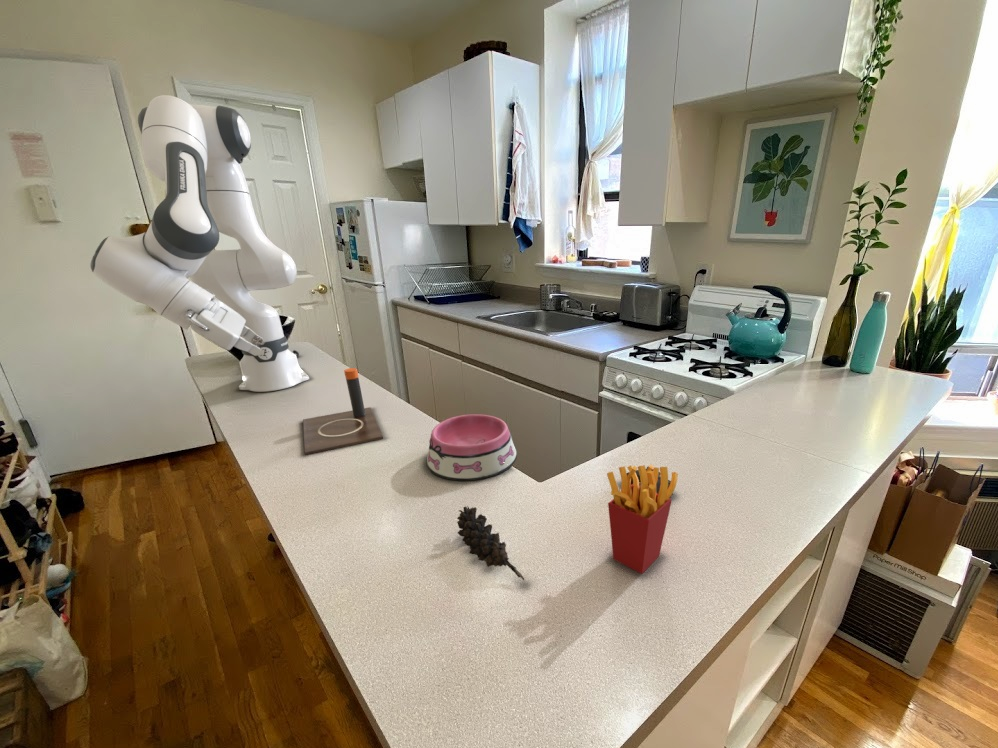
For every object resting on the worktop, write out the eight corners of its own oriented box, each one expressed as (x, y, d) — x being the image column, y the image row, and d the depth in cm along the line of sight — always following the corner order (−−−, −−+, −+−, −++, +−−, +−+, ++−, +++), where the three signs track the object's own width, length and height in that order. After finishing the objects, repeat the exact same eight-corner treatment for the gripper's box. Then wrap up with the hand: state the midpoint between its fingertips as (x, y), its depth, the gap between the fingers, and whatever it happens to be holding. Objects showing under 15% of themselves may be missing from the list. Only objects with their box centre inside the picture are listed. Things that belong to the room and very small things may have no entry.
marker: (352, 414, 118) (343, 369, 113) (364, 411, 119) (356, 367, 114) (354, 418, 115) (344, 372, 110) (366, 415, 116) (357, 370, 112)
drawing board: (303, 421, 115) (302, 418, 115) (370, 409, 122) (370, 406, 122) (305, 455, 99) (304, 451, 99) (383, 438, 106) (382, 435, 105)
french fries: (644, 581, 63) (651, 487, 57) (595, 555, 68) (597, 467, 62) (674, 548, 70) (684, 461, 64) (627, 526, 75) (632, 443, 69)
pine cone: (447, 533, 74) (444, 505, 72) (476, 521, 76) (473, 494, 74) (499, 601, 61) (496, 570, 58) (532, 584, 63) (530, 554, 61)
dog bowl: (534, 461, 95) (533, 431, 92) (451, 492, 85) (447, 459, 82) (489, 431, 108) (487, 404, 106) (413, 454, 98) (408, 425, 95)
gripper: (192, 303, 86) (267, 347, 94) (208, 288, 102) (270, 327, 110) (171, 329, 85) (248, 371, 94) (190, 310, 102) (254, 347, 110)
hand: (260, 347), depth 102 cm, fingers open, 8 cm apart
